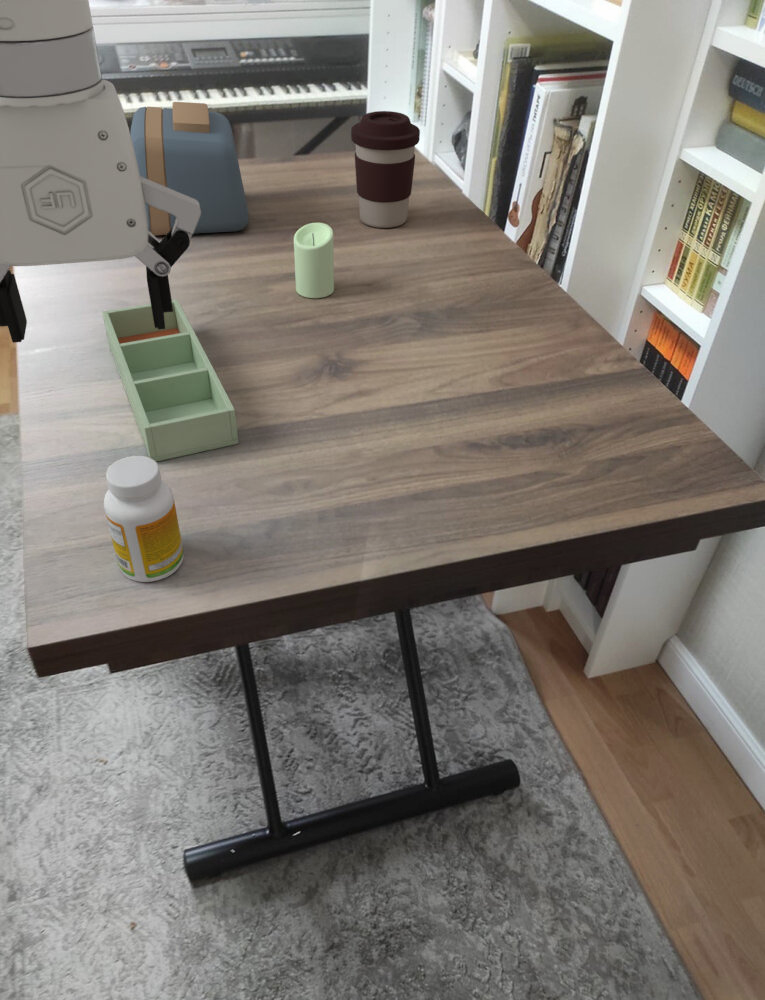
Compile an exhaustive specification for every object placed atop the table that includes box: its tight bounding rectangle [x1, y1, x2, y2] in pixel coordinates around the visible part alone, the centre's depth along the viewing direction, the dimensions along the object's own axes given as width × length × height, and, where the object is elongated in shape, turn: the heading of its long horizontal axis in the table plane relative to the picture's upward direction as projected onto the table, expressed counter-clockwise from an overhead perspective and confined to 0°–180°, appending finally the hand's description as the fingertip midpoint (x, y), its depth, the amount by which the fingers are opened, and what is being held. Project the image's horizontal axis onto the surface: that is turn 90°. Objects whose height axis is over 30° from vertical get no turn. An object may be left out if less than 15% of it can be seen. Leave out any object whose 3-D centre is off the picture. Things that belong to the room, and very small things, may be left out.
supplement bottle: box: [103, 455, 184, 583], centre depth 67 cm, size 5×5×10 cm
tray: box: [101, 299, 239, 463], centre depth 89 cm, size 9×25×4 cm, turn 23°
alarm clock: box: [130, 101, 250, 237], centre depth 123 cm, size 16×16×16 cm
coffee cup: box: [350, 110, 421, 229], centre depth 124 cm, size 10×10×15 cm
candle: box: [293, 222, 335, 299], centre depth 107 cm, size 5×5×8 cm
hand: (91, 326), depth 60 cm, fingers open, 9 cm apart
